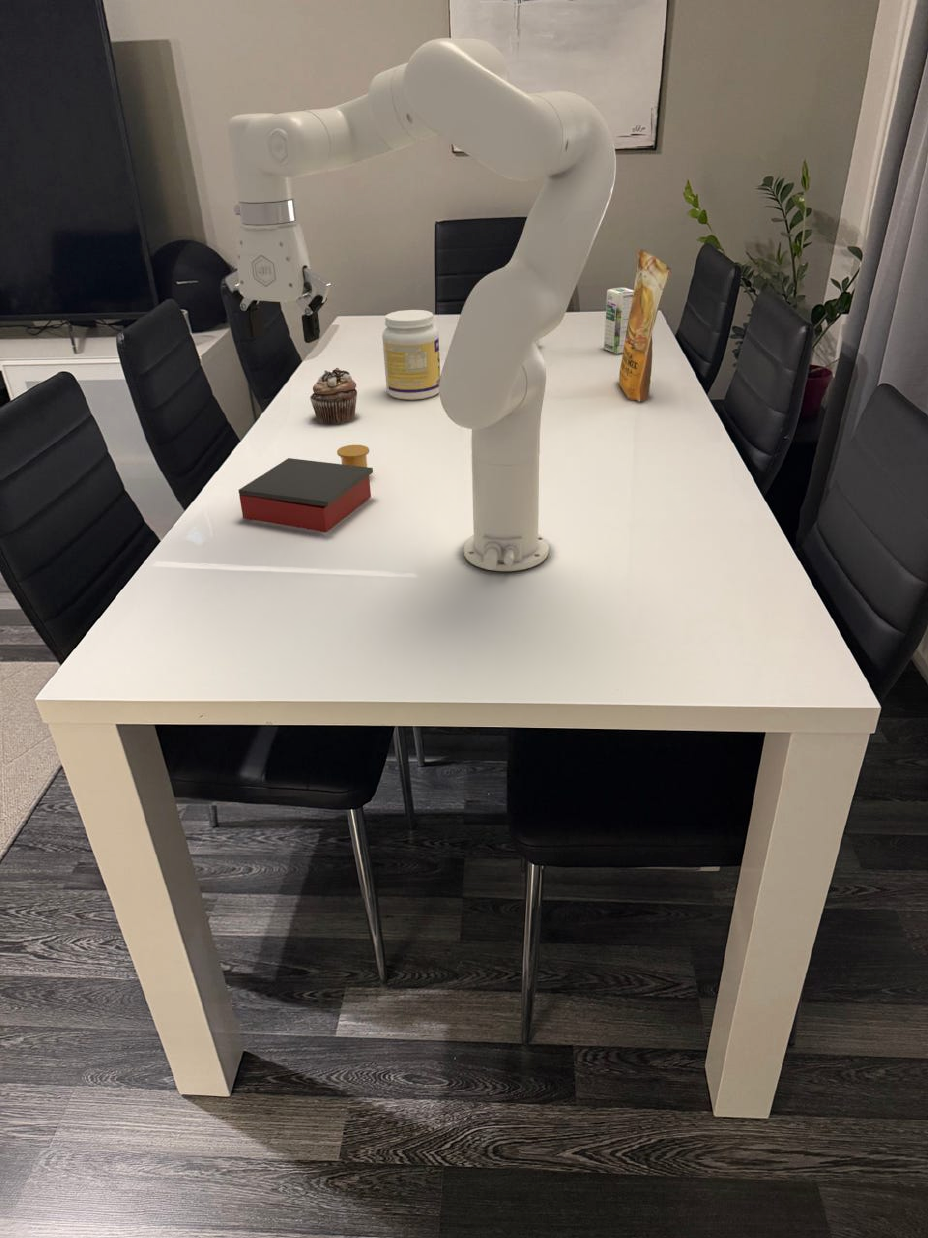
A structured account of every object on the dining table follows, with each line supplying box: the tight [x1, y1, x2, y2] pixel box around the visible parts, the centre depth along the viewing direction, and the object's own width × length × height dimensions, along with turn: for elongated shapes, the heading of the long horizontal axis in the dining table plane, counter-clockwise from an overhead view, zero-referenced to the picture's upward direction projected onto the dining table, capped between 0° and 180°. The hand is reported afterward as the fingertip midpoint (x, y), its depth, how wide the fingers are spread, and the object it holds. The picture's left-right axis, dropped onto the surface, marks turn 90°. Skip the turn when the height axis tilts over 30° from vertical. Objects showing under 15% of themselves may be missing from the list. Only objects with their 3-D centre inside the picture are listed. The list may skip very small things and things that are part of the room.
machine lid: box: [238, 457, 374, 507], centre depth 149 cm, size 16×15×1 cm
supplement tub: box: [381, 309, 441, 401], centre depth 201 cm, size 12×12×17 cm
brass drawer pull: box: [336, 444, 370, 467], centre depth 161 cm, size 6×6×5 cm
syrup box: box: [603, 287, 634, 355], centre depth 226 cm, size 6×6×14 cm
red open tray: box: [238, 475, 372, 533], centre depth 150 cm, size 16×15×5 cm
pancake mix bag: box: [618, 248, 672, 403], centre depth 194 cm, size 7×19×28 cm, turn 2°
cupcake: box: [309, 367, 358, 426], centre depth 189 cm, size 10×10×10 cm
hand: (284, 338), depth 137 cm, fingers open, 9 cm apart
